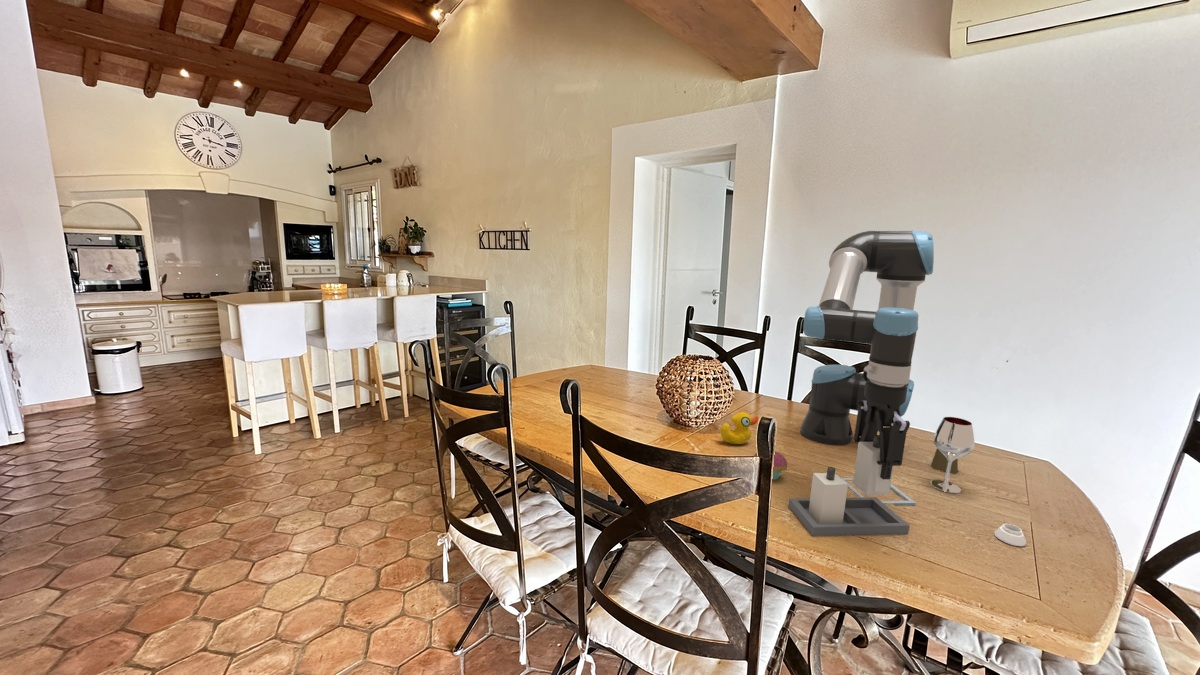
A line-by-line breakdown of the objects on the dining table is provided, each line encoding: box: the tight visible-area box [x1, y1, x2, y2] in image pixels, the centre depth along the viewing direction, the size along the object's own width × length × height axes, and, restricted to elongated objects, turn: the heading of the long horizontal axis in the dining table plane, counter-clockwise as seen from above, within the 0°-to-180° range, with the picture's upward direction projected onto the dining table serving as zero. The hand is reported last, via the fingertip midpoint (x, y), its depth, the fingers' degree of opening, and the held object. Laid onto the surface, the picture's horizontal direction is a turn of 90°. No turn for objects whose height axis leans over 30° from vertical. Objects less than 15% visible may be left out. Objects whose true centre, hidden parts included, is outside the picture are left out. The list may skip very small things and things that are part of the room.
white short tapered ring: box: [994, 523, 1027, 547], centre depth 97 cm, size 5×3×5 cm
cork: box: [930, 447, 959, 474], centre depth 127 cm, size 6×6×11 cm
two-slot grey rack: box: [788, 496, 910, 537], centre depth 102 cm, size 11×21×2 cm, turn 93°
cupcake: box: [753, 450, 788, 481], centre depth 120 cm, size 9×8×12 cm
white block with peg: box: [852, 434, 895, 496], centre depth 100 cm, size 5×5×12 cm
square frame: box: [840, 477, 917, 506], centre depth 115 cm, size 12×12×1 cm
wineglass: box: [929, 416, 976, 494], centre depth 116 cm, size 8×8×18 cm
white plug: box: [808, 466, 849, 524], centre depth 101 cm, size 5×5×12 cm
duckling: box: [720, 411, 759, 445], centre depth 141 cm, size 11×5×10 cm, turn 93°
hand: (871, 483), depth 101 cm, fingers closed on white block with peg, 5 cm apart
